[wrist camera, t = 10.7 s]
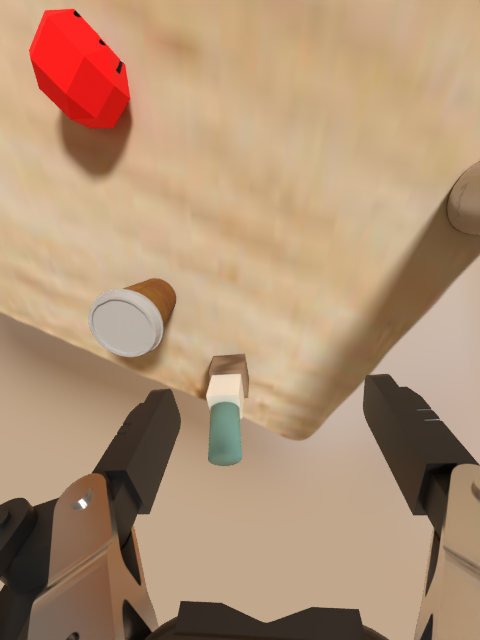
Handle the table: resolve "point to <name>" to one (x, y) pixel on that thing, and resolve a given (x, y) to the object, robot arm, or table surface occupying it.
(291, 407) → the table surface
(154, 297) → the disposable coffee cup
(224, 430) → the teal capsule
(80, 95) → the red faceted polyhedron
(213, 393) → the cream block
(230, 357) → the walnut base block
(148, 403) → the robot arm
